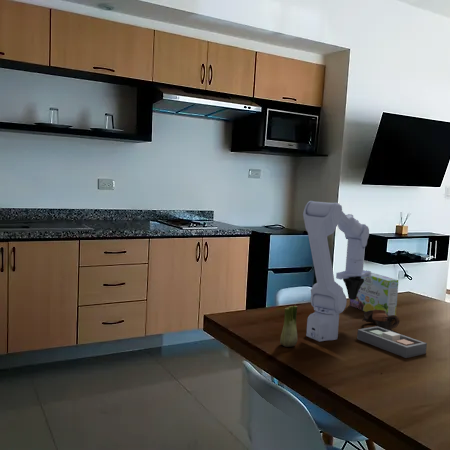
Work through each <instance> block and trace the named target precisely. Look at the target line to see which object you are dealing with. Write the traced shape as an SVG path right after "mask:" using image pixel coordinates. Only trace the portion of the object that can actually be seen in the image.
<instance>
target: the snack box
mask: <svg viewBox="0 0 450 450" xmlns="http://www.w3.org/2000/svg"><path fill="white" fill-rule="evenodd" d="M363 271H366V270H364V269H363ZM361 278H362V279H364V282H363V284H362V285H361V287H360V289H359V291H358V294H357V297H356V299H355V300H352V299H349V306H350V307H353V308H355V309H357V308H358V310H361V311H363V312H364V313H365V312H367V311H371V310H384V311H386V315H395V316H397V304H398V292H399V279H397V278H396V279H395V278H393V277H390V276H389V277H388V276H385V275H383V274H382V275H381V274H378V273H375V272H372V271H371V277H361ZM372 315H373V314H372ZM386 319H387V318H386ZM387 320H388V319H387Z"/></svg>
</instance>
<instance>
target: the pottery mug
mask: <svg viewBox="0 0 450 450" xmlns="http://www.w3.org/2000/svg"><path fill="white" fill-rule="evenodd" d="M372 314H373V315H372ZM386 318H387V319H388V320H387V319H386ZM393 320H394V323H393V324H392V321H393ZM361 321H362V322H367V323H371V324H374V325H375V326H374V327H376V326H378V327H381V328H384V329H387V330H390V331H393V329H396V328H397V327H398V325H399V324H400V319H399V317H398V316H397V315H396V316H395V315H386V311H384V310H371V311H367V312H365V311H364V313H363V317H362V320H361Z"/></svg>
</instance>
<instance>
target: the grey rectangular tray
mask: <svg viewBox="0 0 450 450" xmlns="http://www.w3.org/2000/svg"><path fill="white" fill-rule="evenodd" d="M375 326H376V327H375ZM375 326H369V327H364V328H360V329H359V328H358V329H357V335H356V336H357V337H356V339H357V340H358V341H360V342H363V343H366V344H369V345H372V346H374V347H376V348H379V349H381V350H384V351H386V352H390V353H392V354H395V355H397V356H400V357H402V358H405V359H407V358H408V359H409V358H412V357H416V356H421V355H425V354H427V345H428V343H427V342H423V341H421V340H419V339H415V338H412V337H410V336H407V335H404V334H402V333H401V334H400V333H398V332H395V331H394V330H391V332H394V333H397V334H400V340H402V339H405V340H408V341H410V342H413V343H414V344H413V345H408V346H405V345H402V344H399V343H397V342H394V341H391V340H388V339H386V338H383V337H380V336H377V335H375V334H372V333H369V331H373V330H379V331H382V332H388V331H390V330H387V329H384V328H381V327H378V326H377V325H375Z"/></svg>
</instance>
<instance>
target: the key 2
mask: <svg viewBox="0 0 450 450" xmlns="http://www.w3.org/2000/svg"><path fill="white" fill-rule="evenodd" d="M396 342H397V343H399V344H402V345H405V346H408V345H413V344H414V343H413V342H410V341H408V340H405V339H402V340H397V341H396Z"/></svg>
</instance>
